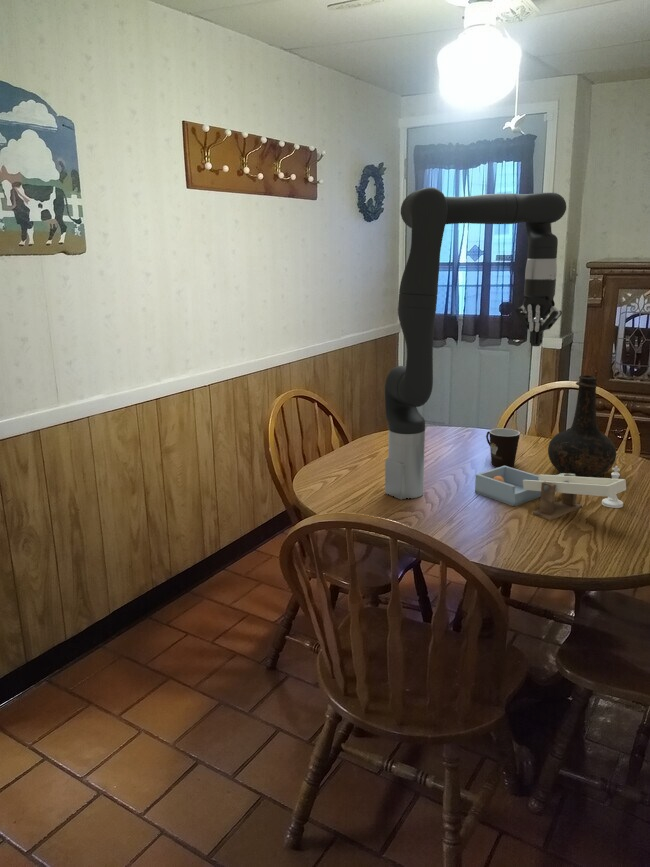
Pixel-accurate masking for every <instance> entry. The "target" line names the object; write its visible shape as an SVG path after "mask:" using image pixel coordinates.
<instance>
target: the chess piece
mask: <svg viewBox="0 0 650 867" xmlns="http://www.w3.org/2000/svg"><path fill="white" fill-rule="evenodd" d="M611 470H612V471H614V472H611V473H610V476H611V479H620V476H621V474H620V473H619V472H620V471H621V469H620V468H618V465H615V466H614V467H611ZM617 494H618V493H617ZM617 494H615V495H613V496H610V497H606V498H603V499H602V500H601V505H603V507H606V508H611V509H612V508H613V509H619V508H620V509H621V508H623V507H624V502H623V501H622V500H620V499H619V498H618V496H617Z"/></svg>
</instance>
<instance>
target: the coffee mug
mask: <svg viewBox="0 0 650 867" xmlns="http://www.w3.org/2000/svg"><path fill="white" fill-rule="evenodd" d="M520 435H521V432H520V431H519V430H516V429H512V428H501V427H500V428H493V429H489V431H487V432H486V436H485V437H486V441H487V444H488V446H489V447H490V462H491V464H490V465H491V466H492V467H494V468H498V467H501V466H508V467H511V468H514V467H515V461H516V458H517V457H516V456H517V452H518V446H519V440H520Z"/></svg>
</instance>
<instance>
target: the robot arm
mask: <svg viewBox="0 0 650 867" xmlns="http://www.w3.org/2000/svg"><path fill="white" fill-rule="evenodd" d="M566 210H567V202H566V200H565V198H564V197H563V196H562V195H561V194H560V193H557V192H539V193H538V192H537V193H536V192H535V193H528V194H526V193H524V194H523V193H489V194H487V193H486V194H477V195H468V196H467V195H466V196H446V195H445V194H444V193H443V192H442V191H441V190H440V189H439V188H437V187H432V186H429V187H424V188H421V189H417V190H415V191H413V192H411V193H409V194H408V195H407V196H406V197H405V198H404V199H403V201H402V203H401V206H400V216H401V220H402V221H403V223H404V224H405V225H406V226H407V227H409V228H411V237H410V238H411V241H410V242H411V244H410V249H409V255H408V258H407V261H406V264H405V267H404V270H403V274H402V277H401V281H400V285H399V292H398V303H397V317H398V321H399V325H400V328H401V331H402V335H403V337H404V341H405V345H406V362H405V363H406V364H405V365H398V366H395V367H393V368H392V369H391V370H390V371H389V372H388V373H387V374H388V375H387V376H386V379H385V383H384V404H385V405H384V406H385V407H384V408H385V418H386V421H387V423H388V450H387V451H388V453H387V455H388V457H387V458H385V460H384V462H385V464H384V465H385V467H384V469H385V470H384V471H385V473H384V493H385V494H386V495H388V494H389V495H388V496H391V497H393V496H394V498H396V499H398V500H406V498H408V499H409V498H411V499H416V498H420V497H421V496H423V495H424V487H425V486H424V484H425V483H424V481H425V479H424V478H425V448H426V447H425V442H426V440H425V439H426V438H425V437H426V421H425V419H424V417H423V416H422V414H421V413H420V412H419V410H418V408H419V407H422V406H424V405H425V404H426V403H427V402H428V400H429V399H430V397H431V394H432V392H433V387H434V386H433V384H434V366H433V364H434V363H433V362H434V357H433V354H434V353H433V352H434V336H435V335H434V334H435V320H436V314H437V313H436V311H437V303H438V302H437V301H438V290H439V288H438V287H439V278H440V265H441V264H440V261H441V249H442V245H443V238H444V232H445V227H446V225H455V224H476V225H477V224H480V225H514V224H520V223H525V229H526V234H527V239H528V240H527V241H528V245H527V256H526V257H527V259H526V265H525V270H524V272H525V273H524V274H525V276H524V288H523V289H524V290H523V296H524V300H523V302H522V305H521V306H520V307H518V308H517V307H516V308H515V313H516V315H517V317H518V319H519V321H520V322H521V324H522V326H523V328H524V329H527V330H529V332H530V333H529V344H530V346H532V347H540V346H541V345H542V344H543V336H544V332H545V331H546V330H547V331H548V330H550V329H551V328H552V327H553V326H554V325H555V323H556V322H557V321H558V320H559V319H560V316H562V315H563V314H562V313H563V312H562V310H560V309H557V307H556V306H555V305H556V304H555V300H554V298H555V295H556V286H557V285H556V284H557V272H558V262H557V260H558V258H557V257H558V245H559V244H558V243H559V242H558V237H557V236H556V235H555V234H553V232H552V223H556V222H558V221H559V220H561V219H562V217H563V216H564V215H565V214H566Z"/></svg>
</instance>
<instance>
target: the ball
mask: <svg viewBox="0 0 650 867" xmlns="http://www.w3.org/2000/svg"><path fill="white" fill-rule="evenodd" d="M493 479H495V480H498V481H501V482H504V479H503V478H502V477H501V476H495V477H494V478H493Z"/></svg>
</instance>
